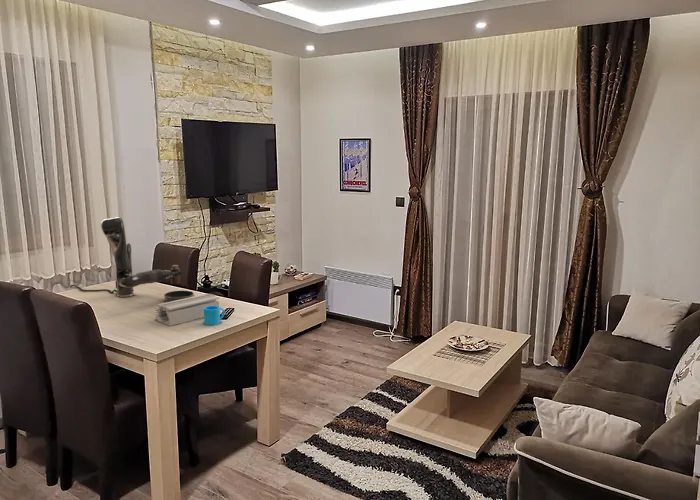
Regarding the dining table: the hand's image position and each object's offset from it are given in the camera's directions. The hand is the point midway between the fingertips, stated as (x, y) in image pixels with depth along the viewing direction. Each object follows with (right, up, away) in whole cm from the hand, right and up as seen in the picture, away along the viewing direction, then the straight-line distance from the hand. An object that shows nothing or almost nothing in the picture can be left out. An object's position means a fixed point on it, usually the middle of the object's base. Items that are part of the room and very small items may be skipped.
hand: (179, 272), depth 307 cm
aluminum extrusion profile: (+15, -23, -30) cm, 41 cm away
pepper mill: (-2, -7, -1) cm, 7 cm away
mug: (+33, -25, -38) cm, 56 cm away
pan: (-1, -17, +3) cm, 17 cm away
